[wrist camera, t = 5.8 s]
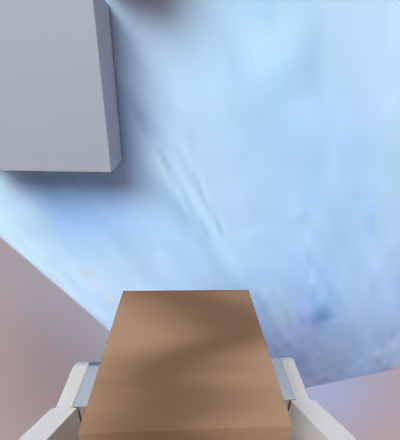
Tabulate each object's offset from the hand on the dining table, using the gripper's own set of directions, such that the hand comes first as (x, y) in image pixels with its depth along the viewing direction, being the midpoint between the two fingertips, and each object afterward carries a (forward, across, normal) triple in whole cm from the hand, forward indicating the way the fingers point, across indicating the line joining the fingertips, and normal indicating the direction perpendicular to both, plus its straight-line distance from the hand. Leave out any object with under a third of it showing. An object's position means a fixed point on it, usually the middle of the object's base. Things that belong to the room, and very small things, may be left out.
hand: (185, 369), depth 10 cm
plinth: (+17, +11, -10) cm, 22 cm away
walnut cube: (+2, 0, 0) cm, 2 cm away
